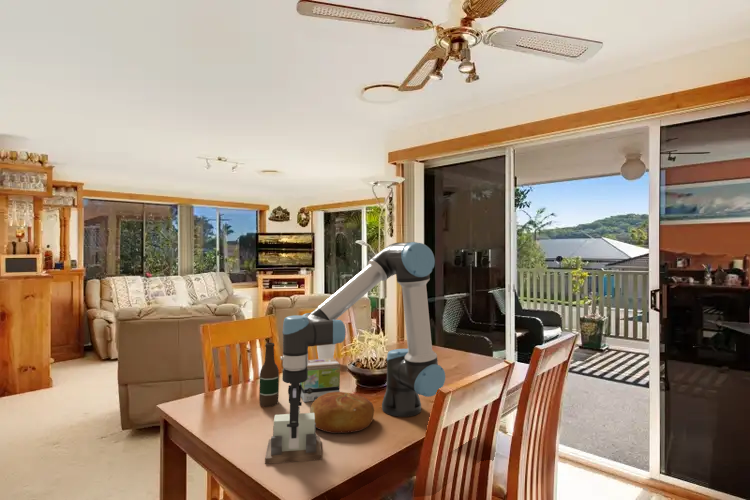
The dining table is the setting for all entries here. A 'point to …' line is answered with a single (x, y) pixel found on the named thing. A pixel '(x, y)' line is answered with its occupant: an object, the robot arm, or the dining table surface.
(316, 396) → the tea box
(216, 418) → the dining table surface
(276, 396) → the beer bottle
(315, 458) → the grey slab holder
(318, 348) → the cup
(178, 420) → the dining table surface
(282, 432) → the cream flat block
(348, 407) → the bread
